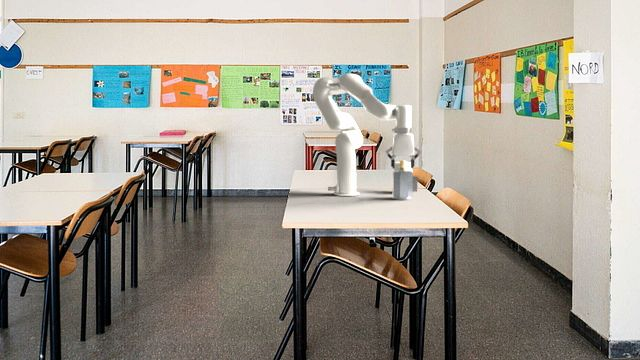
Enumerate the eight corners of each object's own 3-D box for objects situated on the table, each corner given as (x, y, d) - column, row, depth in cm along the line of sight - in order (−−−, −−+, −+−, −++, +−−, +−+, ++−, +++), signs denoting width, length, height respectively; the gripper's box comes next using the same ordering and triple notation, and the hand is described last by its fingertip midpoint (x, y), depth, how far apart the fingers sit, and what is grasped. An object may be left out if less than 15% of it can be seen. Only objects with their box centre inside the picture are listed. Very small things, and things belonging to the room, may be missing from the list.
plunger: (396, 194, 296) (397, 161, 294) (395, 193, 302) (395, 160, 300) (409, 194, 296) (410, 161, 294) (407, 193, 302) (408, 160, 300)
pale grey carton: (393, 200, 295) (394, 172, 293) (391, 197, 304) (391, 170, 303) (418, 200, 295) (418, 172, 293) (415, 197, 304) (415, 170, 303)
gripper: (385, 131, 292) (385, 169, 294) (422, 131, 292) (422, 169, 294) (383, 131, 300) (383, 167, 302) (420, 131, 300) (419, 167, 302)
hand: (402, 168), depth 298 cm, fingers open, 8 cm apart
